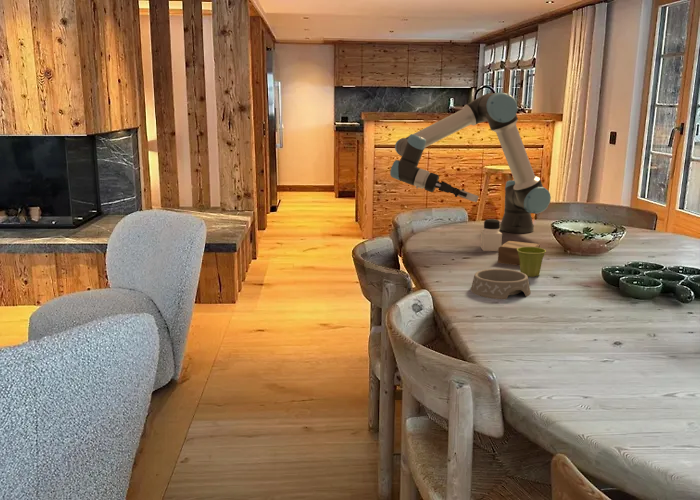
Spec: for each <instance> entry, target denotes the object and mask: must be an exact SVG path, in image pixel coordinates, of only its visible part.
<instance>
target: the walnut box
mask: <svg viewBox="0 0 700 500" xmlns="http://www.w3.org/2000/svg"><path fill="white" fill-rule="evenodd" d="M520 247H538V248H541V244H539V243H535V242H534V243H533V242H522V241H513V240H508V241H506V242H505V243H502V246H500V247H499V248H498V251H497V264H503V265H504V264H505V265H515V266H520V261H519V255H518V251H517V249H518V248H520Z"/></svg>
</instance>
